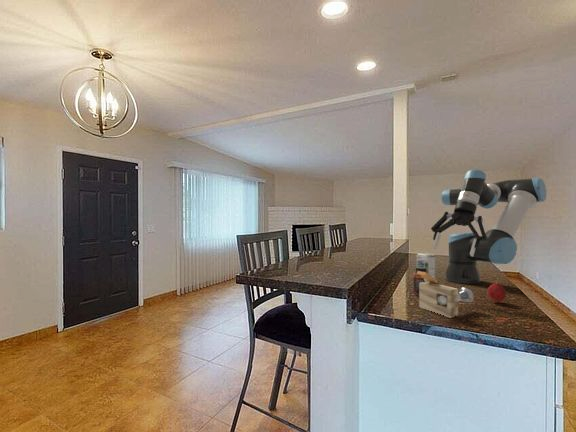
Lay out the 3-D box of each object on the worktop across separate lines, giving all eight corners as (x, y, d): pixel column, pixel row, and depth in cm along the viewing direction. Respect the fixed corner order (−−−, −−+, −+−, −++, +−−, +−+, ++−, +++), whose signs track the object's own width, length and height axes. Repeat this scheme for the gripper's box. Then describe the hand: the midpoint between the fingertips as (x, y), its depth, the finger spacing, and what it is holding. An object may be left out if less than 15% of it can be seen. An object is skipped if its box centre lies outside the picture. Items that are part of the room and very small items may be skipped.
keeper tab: (429, 282, 110) (430, 279, 111) (438, 284, 107) (439, 281, 107) (416, 273, 107) (417, 270, 108) (425, 275, 104) (426, 272, 104)
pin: (460, 299, 109) (460, 286, 109) (473, 303, 105) (473, 289, 105) (435, 305, 104) (435, 291, 104) (448, 309, 99) (448, 294, 99)
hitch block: (427, 305, 111) (426, 281, 111) (458, 315, 101) (457, 288, 100) (419, 307, 110) (419, 282, 109) (450, 317, 99) (449, 290, 99)
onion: (489, 299, 117) (489, 278, 117) (507, 302, 113) (507, 281, 113) (485, 302, 113) (485, 281, 113) (504, 306, 109) (504, 284, 109)
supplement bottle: (430, 297, 122) (430, 269, 122) (415, 296, 123) (414, 268, 123) (427, 293, 128) (426, 266, 128) (412, 292, 129) (411, 265, 129)
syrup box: (416, 284, 142) (416, 253, 142) (424, 282, 145) (424, 252, 145) (427, 287, 137) (426, 255, 137) (435, 285, 140) (435, 253, 140)
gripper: (433, 197, 132) (418, 241, 127) (501, 203, 115) (487, 255, 110) (437, 205, 137) (423, 248, 132) (503, 212, 120) (490, 262, 115)
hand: (452, 251), depth 121 cm, fingers open, 13 cm apart
